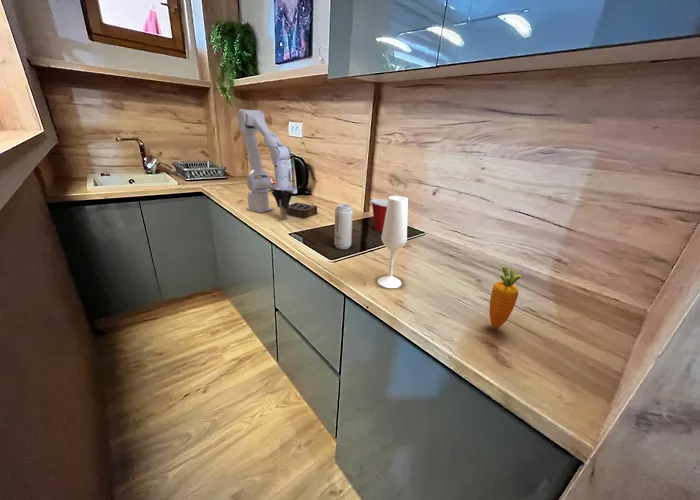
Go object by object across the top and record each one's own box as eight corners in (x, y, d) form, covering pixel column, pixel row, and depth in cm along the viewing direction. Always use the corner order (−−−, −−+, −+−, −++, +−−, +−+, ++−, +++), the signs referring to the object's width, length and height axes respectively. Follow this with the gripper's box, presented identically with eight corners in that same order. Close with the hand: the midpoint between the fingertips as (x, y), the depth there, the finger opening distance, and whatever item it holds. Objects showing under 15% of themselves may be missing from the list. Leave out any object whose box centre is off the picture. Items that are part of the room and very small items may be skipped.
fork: (280, 219, 133) (279, 199, 130) (285, 217, 136) (284, 198, 133) (281, 220, 133) (280, 199, 130) (287, 218, 136) (286, 198, 132)
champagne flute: (406, 285, 84) (417, 200, 75) (386, 290, 81) (395, 202, 72) (392, 274, 89) (400, 194, 80) (373, 279, 86) (379, 196, 77)
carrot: (511, 335, 65) (530, 274, 60) (489, 336, 65) (506, 274, 59) (499, 321, 70) (515, 263, 64) (478, 322, 70) (493, 263, 64)
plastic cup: (396, 234, 122) (399, 205, 118) (369, 233, 122) (371, 203, 118) (393, 225, 132) (396, 198, 127) (368, 224, 132) (370, 197, 128)
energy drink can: (332, 244, 109) (332, 203, 103) (347, 242, 111) (349, 202, 105) (337, 250, 104) (338, 208, 98) (353, 249, 106) (355, 207, 100)
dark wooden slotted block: (283, 213, 142) (283, 206, 140) (297, 209, 150) (296, 202, 149) (304, 218, 137) (304, 210, 135) (317, 213, 145) (317, 206, 143)
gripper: (261, 175, 127) (264, 206, 133) (289, 179, 121) (290, 212, 126) (273, 173, 133) (275, 203, 138) (300, 177, 127) (300, 208, 132)
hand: (283, 207), depth 133 cm, fingers open, 3 cm apart
